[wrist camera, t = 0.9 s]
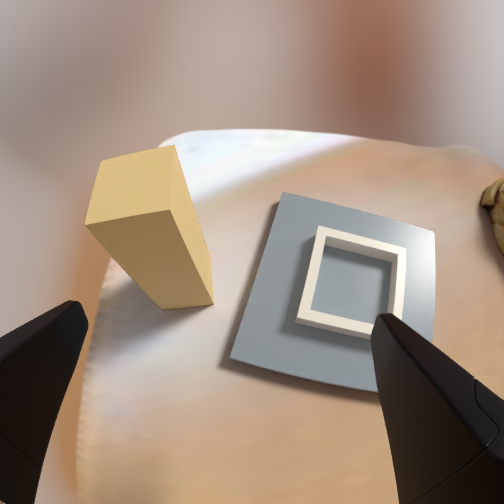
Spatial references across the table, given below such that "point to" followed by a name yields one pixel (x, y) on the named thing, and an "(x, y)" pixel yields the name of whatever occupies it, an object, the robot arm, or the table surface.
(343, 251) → the baseplate
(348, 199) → the table surface
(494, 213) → the pastry
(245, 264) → the table surface
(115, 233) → the pillar
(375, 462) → the table surface
